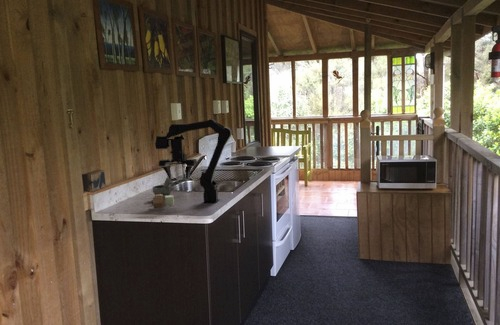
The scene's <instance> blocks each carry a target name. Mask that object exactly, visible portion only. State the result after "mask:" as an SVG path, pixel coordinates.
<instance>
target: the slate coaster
mask: <svg viewBox="0 0 500 325" xmlns="http://www.w3.org/2000/svg"><path fill="white" fill-rule="evenodd" d="M170 207H171V205H166V206H165V207H163V208H154V207H153V205H152V206H150V207H149V208H148V211H165V210H167V209H168V208H170Z"/></svg>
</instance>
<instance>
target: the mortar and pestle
mask: <svg viewBox="0 0 500 325" xmlns="http://www.w3.org/2000/svg"><path fill="white" fill-rule="evenodd" d="M171 181H172V178H171V179H169V177H168V176H167V177H166V178H165V182H164V183H163V184H160V185H154V186H152V193H153V195H154V196H155V195H158V194H162V195H163V196H168V195H171V192H172V185H171Z"/></svg>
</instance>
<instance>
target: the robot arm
mask: <svg viewBox="0 0 500 325" xmlns="http://www.w3.org/2000/svg"><path fill="white" fill-rule="evenodd" d="M208 128H210V129H211V130H213V131H214V132H215V133H216V134H218V135H217V141H216V142H217V143H216V146H215V148H214V150H213V154H212V156H211V157H210V161H209V163H208V166H207V168H206V170H202V171H201V174H200V177H199V185H200V186H201V188H203V193H202V195H203V196H202V197H203V203H207V204H208V203H209V204H211V203H213V204H215V203H217V202H219V200H220V198H219V192H218V188H217V187H218V183H217V182H216V181H215V180H214V178H215V171H216V168H217V166H218V164H219V161H220V159H221V155H222V153H223V151H224V149H225V146H226V144H227V143H228V142H229V140H230V138H231V137H232V135H233V131H232V129H231V128H230V127H228V126H224V125H223V124H220V123H219V122H218V121H216V119H213V118H211V119H207V120H202V121H201V120H200V121H196V122H191V123H173V124H170V125H169V127H168V132H167V133H166V134H165V135H156V137H155V138H156V139H155V149H156V150H168V149H169V148H170V149H171V150H170V154H171V159H169V158H168V159H167V158H165V159H164V158H163V159H160V160H158V166H159V167H161V168H162V169H163V171H164V172H165V173H166V175H167V177H169V179H171V180H172V175H171V174H172V173H171V167H172V166H171V165H186V166H185V177H186V180H189V178H190V177H189V176H190V173H191V170H192V169H193V167H195V166H197V164H198V161H197V158H188V155H187V154H186V153H185V151H184V149H183V141H184V140H187V137H186V136H184V134H185V133H186V132H191V131H196V130H203V129H208ZM179 135H180V136H179Z"/></svg>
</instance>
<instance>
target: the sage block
mask: <svg viewBox="0 0 500 325" xmlns="http://www.w3.org/2000/svg"><path fill="white" fill-rule="evenodd" d="M165 200H166V205H170V206H174V204H175V199H174V194H170V195H168V196H165Z"/></svg>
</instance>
